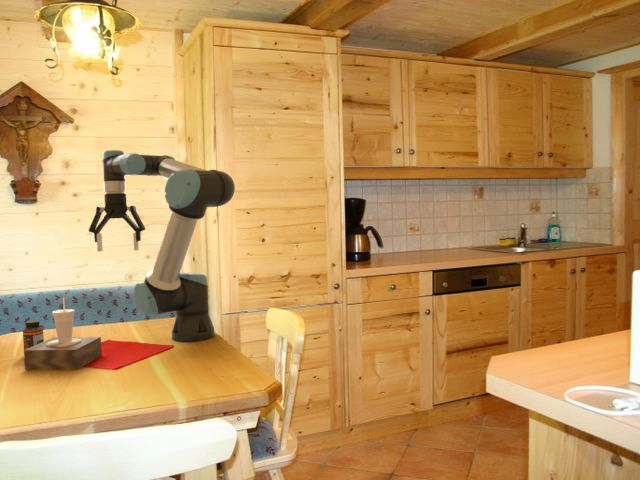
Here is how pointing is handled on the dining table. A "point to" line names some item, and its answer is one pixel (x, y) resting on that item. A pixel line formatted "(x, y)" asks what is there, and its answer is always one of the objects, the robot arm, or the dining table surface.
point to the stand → (62, 354)
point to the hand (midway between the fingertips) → (118, 250)
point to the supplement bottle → (32, 334)
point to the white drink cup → (64, 323)
